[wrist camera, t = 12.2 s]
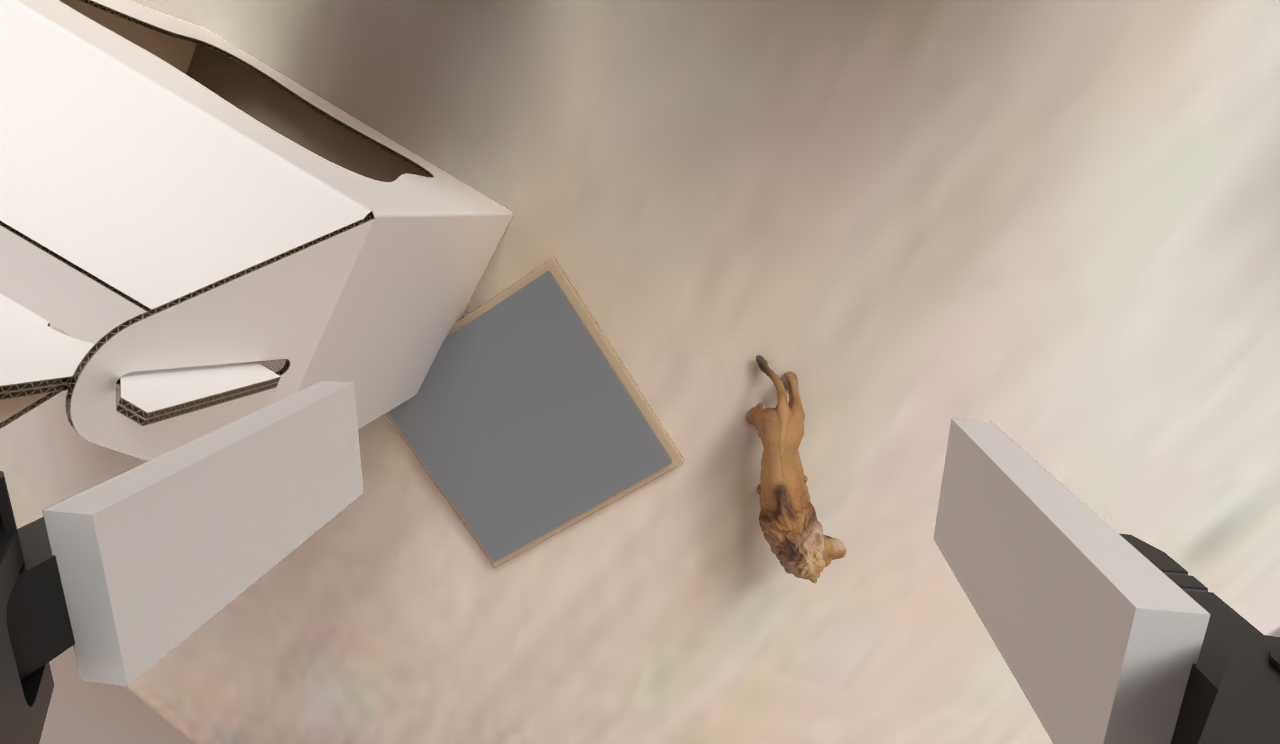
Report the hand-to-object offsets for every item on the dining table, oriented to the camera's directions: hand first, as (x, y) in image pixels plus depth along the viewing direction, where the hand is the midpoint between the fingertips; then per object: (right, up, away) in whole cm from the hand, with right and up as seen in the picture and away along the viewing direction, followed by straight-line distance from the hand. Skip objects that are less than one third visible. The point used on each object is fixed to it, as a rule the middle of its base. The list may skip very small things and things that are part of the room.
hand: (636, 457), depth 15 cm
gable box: (-20, +12, +28) cm, 36 cm away
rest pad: (-7, -1, +29) cm, 30 cm away
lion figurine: (+9, -3, +28) cm, 29 cm away
